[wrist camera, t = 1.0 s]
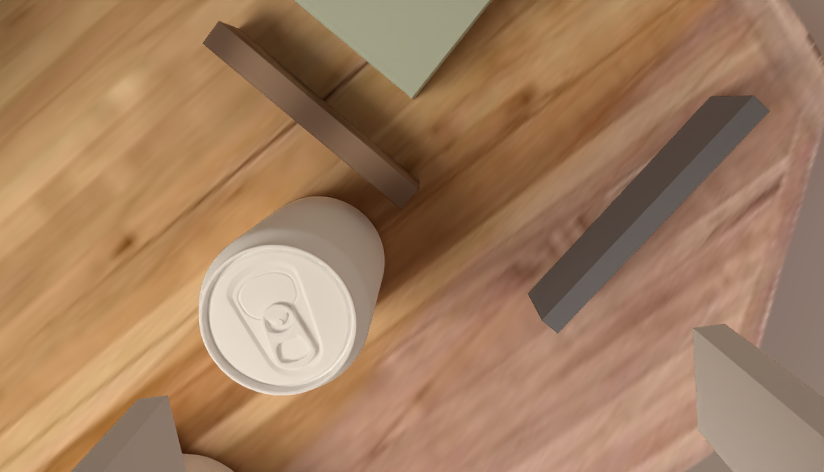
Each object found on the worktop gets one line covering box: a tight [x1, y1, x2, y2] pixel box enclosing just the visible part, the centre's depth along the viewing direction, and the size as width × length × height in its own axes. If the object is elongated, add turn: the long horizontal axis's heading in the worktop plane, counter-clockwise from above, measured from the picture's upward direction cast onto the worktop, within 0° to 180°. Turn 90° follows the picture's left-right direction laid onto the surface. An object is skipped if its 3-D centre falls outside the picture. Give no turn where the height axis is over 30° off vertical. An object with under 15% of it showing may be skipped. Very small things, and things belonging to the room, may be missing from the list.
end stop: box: [528, 96, 769, 333], centre depth 36 cm, size 1×16×5 cm, turn 140°
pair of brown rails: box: [203, 21, 419, 209], centre depth 35 cm, size 14×17×4 cm
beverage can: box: [199, 196, 385, 395], centre depth 34 cm, size 8×8×12 cm
